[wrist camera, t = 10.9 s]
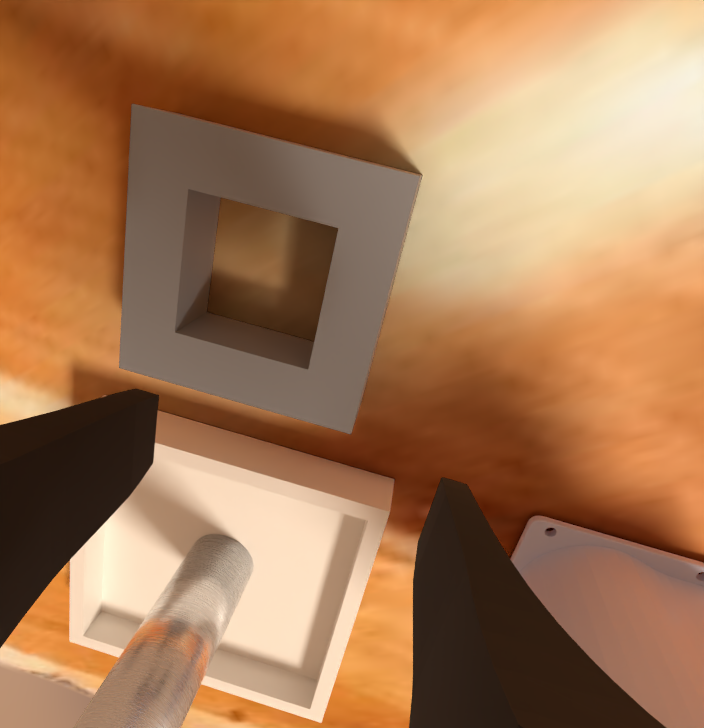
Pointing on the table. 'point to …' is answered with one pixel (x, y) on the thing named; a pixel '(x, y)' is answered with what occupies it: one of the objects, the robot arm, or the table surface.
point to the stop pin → (174, 641)
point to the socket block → (196, 252)
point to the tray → (262, 540)
